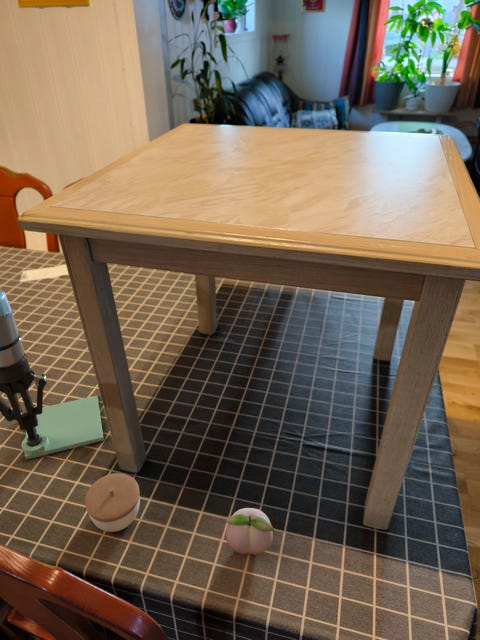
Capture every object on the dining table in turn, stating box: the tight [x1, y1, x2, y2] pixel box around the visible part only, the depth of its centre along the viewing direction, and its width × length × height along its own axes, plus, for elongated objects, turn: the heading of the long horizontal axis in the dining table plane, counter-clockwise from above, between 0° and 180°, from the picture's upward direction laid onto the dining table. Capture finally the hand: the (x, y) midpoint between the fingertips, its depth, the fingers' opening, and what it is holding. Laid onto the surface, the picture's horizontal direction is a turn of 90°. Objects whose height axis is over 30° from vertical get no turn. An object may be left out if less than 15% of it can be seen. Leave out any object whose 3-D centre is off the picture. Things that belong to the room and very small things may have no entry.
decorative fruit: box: [224, 507, 275, 556], centre depth 86 cm, size 9×8×10 cm
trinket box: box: [84, 472, 141, 533], centre depth 91 cm, size 11×11×9 cm
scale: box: [21, 395, 105, 460], centre depth 113 cm, size 18×16×4 cm
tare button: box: [27, 434, 41, 447], centre depth 106 cm, size 3×3×2 cm
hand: (33, 436), depth 105 cm, fingers closed
